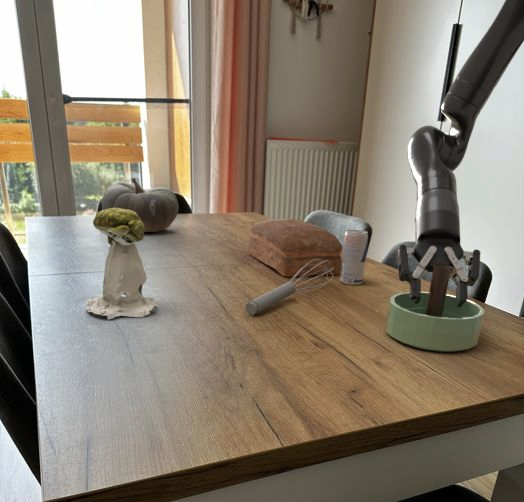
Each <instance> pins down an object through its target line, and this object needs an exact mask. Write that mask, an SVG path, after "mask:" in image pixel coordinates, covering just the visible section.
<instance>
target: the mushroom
mask: <svg viewBox="0 0 524 502" xmlns="http://www.w3.org/2000/svg"><path fill="white" fill-rule="evenodd" d="M92 225H93V227H94V228H95V229H96V230H98V231H99V232H100V233H101V234H103V235H105V236H107V242H108V244H109V248H108V251H107V255H106V258H105V263H104V274H103V281H102V294H99V295H97V296H95V297H94V298H88V299H87V300H86V303H85V305H86V308H85V311H87V312H88V313H93V314H94V315H100V316H103V317H104V316H106V317H107V320H111V319H115V318H116V317H117V318H118V317H122V316H124V317H129V318H131V317H132V318H133V317H135V318H143V317H145V316H148V315H151V312H152V311H153V310H154V311H155V312H157V309H156V307H158V300H155V297H152V296H151V297H149V296H143V292H142V291H143V286H144V285H145V284H146V282H147V280H148V276H147V273H146V270H145V267H146V265H145V264H146V263H145V262H144V261H142V258H141V255H140V252H139V250H138V247H137V244H136V243H138V242H141V241H143V240H144V238H145V233H144V232H145V227H144V224H143V222H142V221H141V219H140V218H139V216H138V215H137V214H136V213H135V212H133V211H131V210H127V209H121V208H110V209H106V210H103V209H101V210H100V211H97V212H96V213H95V216H94V218H93V221H92ZM104 254H106V252H105V253H104Z"/></svg>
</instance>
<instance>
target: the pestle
mask: <svg viewBox="0 0 524 502" xmlns="http://www.w3.org/2000/svg"><path fill="white" fill-rule="evenodd" d="M450 272H451V267H450V266H448V265H442V264H436V265H434V267H433V272H431V278H430V283H429V290H428V292H429V295H428V301H427V307H426V312H425V314H424V315H429V316H435V317H443V316H442V314H443V309H444V304H445V298H446V295H447V292H448V288H449V283H450V282H449V281H450V278H449V277H450Z"/></svg>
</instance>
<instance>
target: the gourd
mask: <svg viewBox="0 0 524 502" xmlns="http://www.w3.org/2000/svg"><path fill="white" fill-rule="evenodd" d="M132 183H133V184H132ZM179 207H180V206H179V201H178V198H177V196H176V193H174V192H173V191H172V190H171V189H169V188H167V187H164V186H160V187H159V186H158V187H153V188H151V189H148V190H146V189H144V188H143V186H141V185H140V184H139V182H137V180H136V177H132V178H131V183H129V182H125V181H118V182H115V183H114V184H112V185H111V186H109V187H107V189H106V190H105V191H104V193H103V195H102V198H101V210H106V209H110V208H121V209H127V210H131V211H133V212H135V213H136V214H137V215H138V216H139V218H140V219H141V221H142V222H143V224H144V227H145V232H154V233H158V232H157V231H159V232H162V231H163V230H166V229H168V228H169V227H170V226H171V225H172V224H173V222H174V221H175V219H176V218H177V216H178V214H179ZM161 230H162V231H161Z"/></svg>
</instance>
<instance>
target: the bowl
mask: <svg viewBox="0 0 524 502" xmlns="http://www.w3.org/2000/svg"><path fill="white" fill-rule="evenodd" d="M428 295H429V291H421V299H420V301H419V303H418V304H414V300H411V298H410V291H405V292H399V293H395V294H393V295H392V296H391V297H390V298H389V301H388V302H389V303H388V309H387V314H386V315H387V316H386V322H385V330H386V333H387V334H388V335H389V336H390V337H391V338H393V339H395V340H397V341H398V342H401V343H403V344H405V345H407V346H410V347H413V348H417V349H420V350H426V351H432V352H443V353H445V352H446V353H447V352H448V353H450V352H459V351H464V350H470V349H473V348H474V347H476V346H477V345H478V343H479V340H480V339H479V338H480V335H481V331H482V326H483V321H484V317H485V313H486V310H485V309H484V308H483V307H482V306H481V305H479V304H478V303H476V302H474V301H472V300H469V299H467V301H466V302H465V304H463V305H462V307H456V295H451V294H446V298H445V304H444V309H443V314H442V316H443V317H435V316H429V315H424V314H425V312H426V307H427V301H428Z"/></svg>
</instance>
